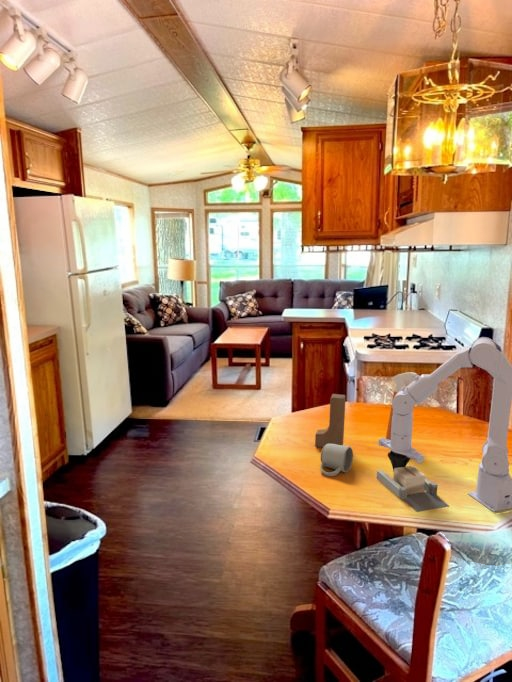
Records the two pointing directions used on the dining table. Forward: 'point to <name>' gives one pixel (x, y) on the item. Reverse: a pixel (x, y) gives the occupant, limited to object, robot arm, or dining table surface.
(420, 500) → the mat
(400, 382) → the spray bottle
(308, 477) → the dining table surface
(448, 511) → the dining table surface
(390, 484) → the chute
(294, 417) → the dining table surface
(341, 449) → the ceramic mug
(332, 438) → the wooden block
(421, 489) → the block
